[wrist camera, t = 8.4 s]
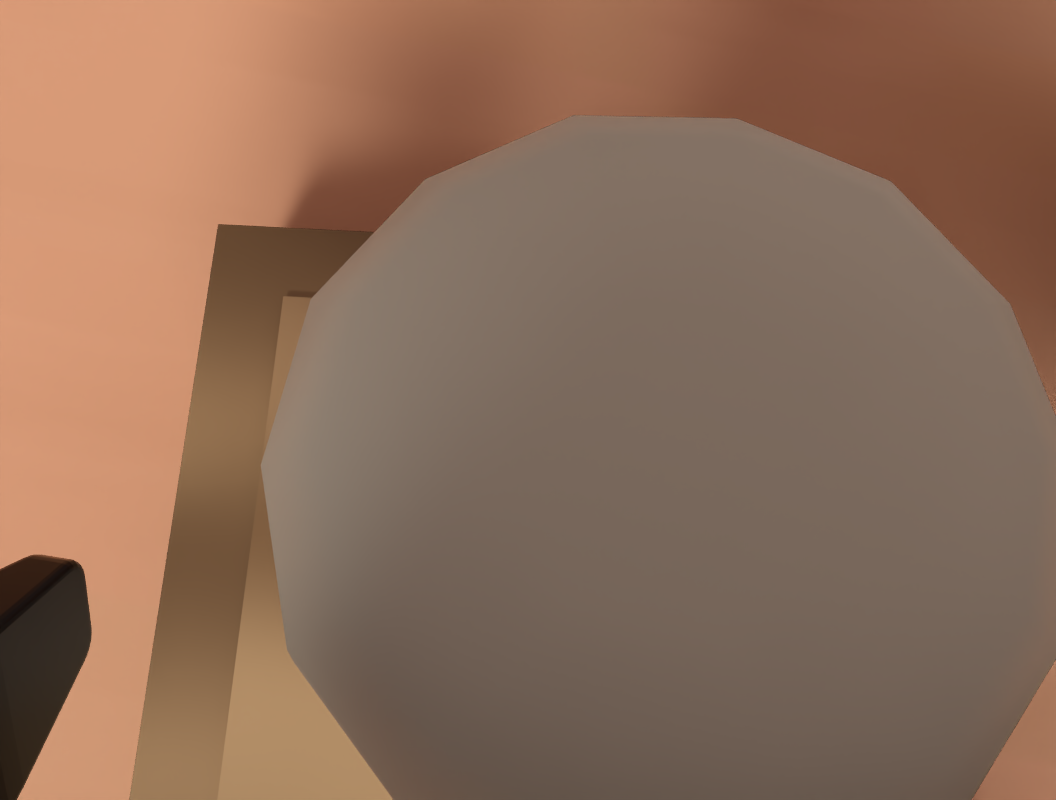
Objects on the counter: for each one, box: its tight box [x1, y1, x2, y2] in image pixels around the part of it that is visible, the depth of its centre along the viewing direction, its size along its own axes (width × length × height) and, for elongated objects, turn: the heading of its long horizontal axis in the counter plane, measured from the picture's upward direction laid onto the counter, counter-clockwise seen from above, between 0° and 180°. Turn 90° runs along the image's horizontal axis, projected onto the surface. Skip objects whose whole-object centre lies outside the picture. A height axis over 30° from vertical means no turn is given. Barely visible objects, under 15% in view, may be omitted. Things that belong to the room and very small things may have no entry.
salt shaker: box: [261, 115, 1056, 800], centre depth 11 cm, size 6×6×13 cm
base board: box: [129, 224, 393, 800], centre depth 18 cm, size 14×14×3 cm
